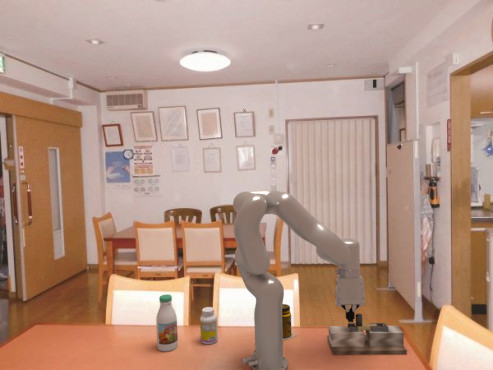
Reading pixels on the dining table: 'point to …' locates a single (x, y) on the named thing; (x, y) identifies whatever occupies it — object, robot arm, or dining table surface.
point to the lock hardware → (381, 327)
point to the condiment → (286, 322)
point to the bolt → (363, 326)
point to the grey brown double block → (366, 341)
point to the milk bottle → (166, 325)
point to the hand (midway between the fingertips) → (350, 320)
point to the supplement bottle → (208, 326)
